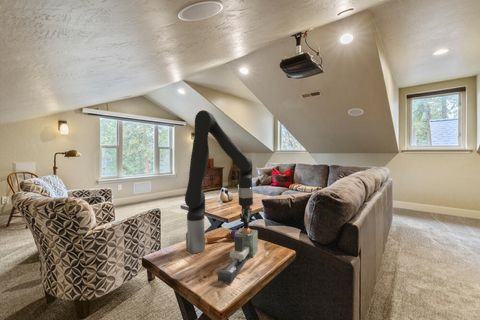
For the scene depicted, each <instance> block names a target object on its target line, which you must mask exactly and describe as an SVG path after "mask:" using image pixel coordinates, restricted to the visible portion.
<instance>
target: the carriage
mask: <svg viewBox="0 0 480 320" xmlns="http://www.w3.org/2000/svg"><path fill="white" fill-rule="evenodd" d="M233 242H234V247H233V248H232V249H231V250H230V251H229V258H231V259H233V261H234V260H235V258H236V259H239V262H241V261H242V260H244V259H245V257H246V256H247V254H248V253H249V247H244V235H240V234H236V235H235V236H234V240H233Z"/></svg>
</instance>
